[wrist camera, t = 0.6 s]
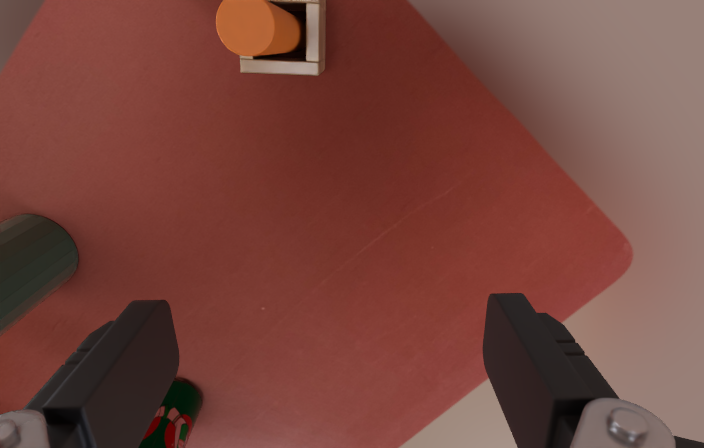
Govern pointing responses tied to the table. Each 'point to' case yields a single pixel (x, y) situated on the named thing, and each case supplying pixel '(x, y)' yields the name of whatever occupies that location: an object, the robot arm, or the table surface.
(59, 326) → the table surface
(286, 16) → the orange rod
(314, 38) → the stand
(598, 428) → the robot arm
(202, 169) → the table surface
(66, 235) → the green cylindrical cup
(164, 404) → the soda can
